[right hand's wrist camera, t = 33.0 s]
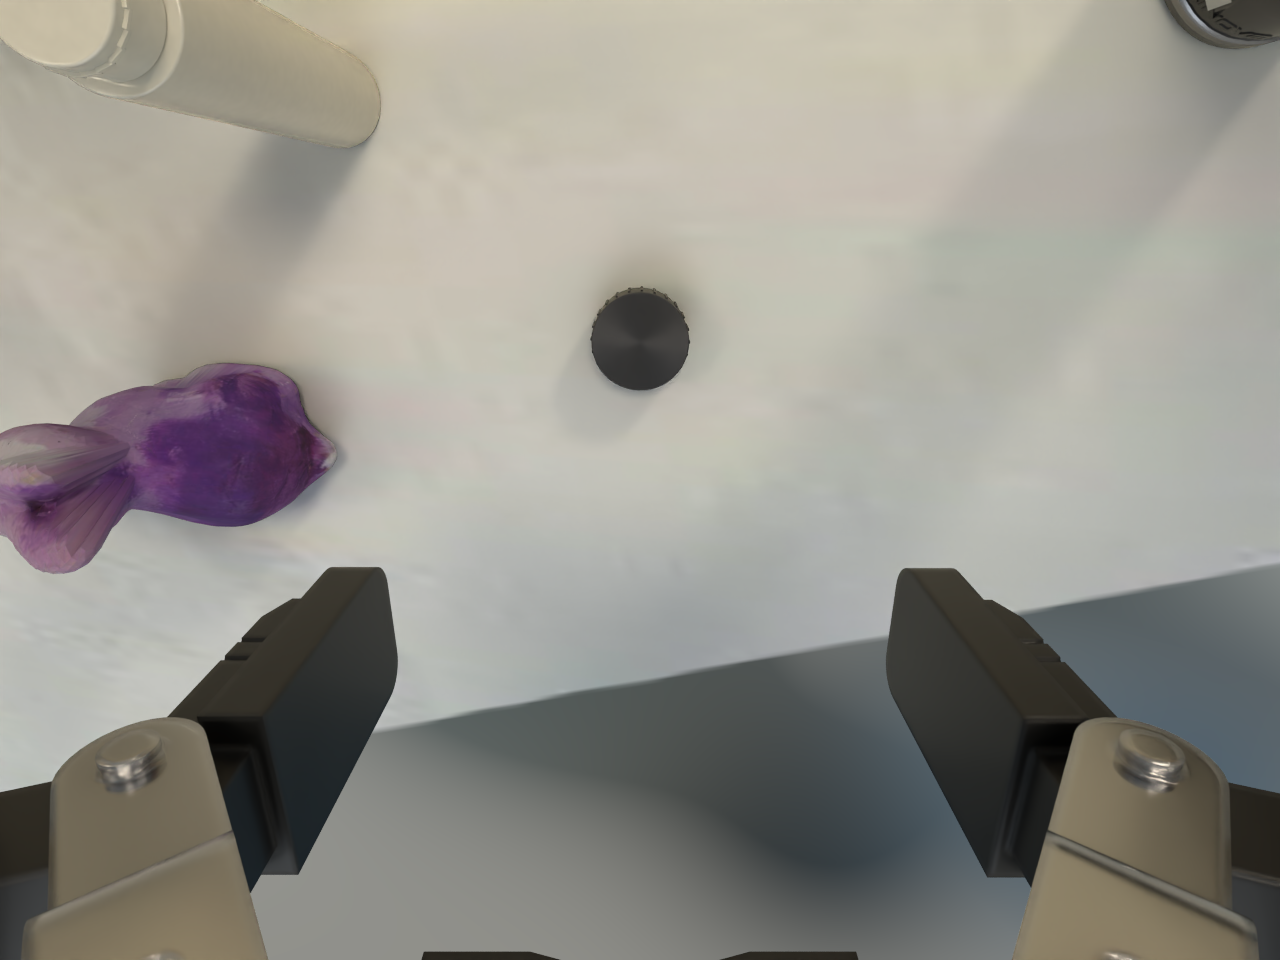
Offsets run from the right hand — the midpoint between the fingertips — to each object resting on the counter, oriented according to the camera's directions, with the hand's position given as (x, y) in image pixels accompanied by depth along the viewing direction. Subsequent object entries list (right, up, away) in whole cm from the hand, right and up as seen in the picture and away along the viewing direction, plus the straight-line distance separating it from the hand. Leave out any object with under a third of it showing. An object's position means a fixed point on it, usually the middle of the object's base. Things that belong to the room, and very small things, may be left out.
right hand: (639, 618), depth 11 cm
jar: (-15, +20, +23) cm, 34 cm away
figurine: (-23, +5, +29) cm, 37 cm away
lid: (0, +9, +25) cm, 27 cm away
